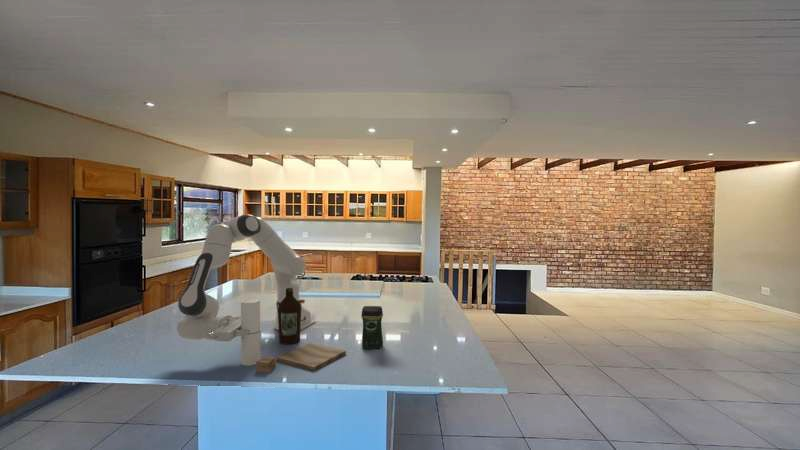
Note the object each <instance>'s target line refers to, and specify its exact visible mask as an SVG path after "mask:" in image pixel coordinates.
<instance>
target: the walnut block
mask: <svg viewBox="0 0 800 450" xmlns="http://www.w3.org/2000/svg"><path fill="white" fill-rule="evenodd" d="M276 362H277V357H271V356H263V357H260V360H258V361H256V364H255V366H256V372H259V373H267V374H268V373H270V372H271V371H273V370H274V369H276V367H277V366H276V365H277V364H276Z"/></svg>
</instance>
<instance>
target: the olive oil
mask: <svg viewBox="0 0 800 450" xmlns="http://www.w3.org/2000/svg"><path fill="white" fill-rule="evenodd" d="M301 305H302V304H301ZM301 305H300V303H299V302H298V301H297V300H296V299H295V298H294V297H293V288H286V297H285V298H284V299H283V300H282V301H281V303H280V304H279V306H278V323H279V330H278V340H279V341H278V342H279V343H280V345H294V344H297V343H299V342H300V340H301V330H300V324H301Z"/></svg>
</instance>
